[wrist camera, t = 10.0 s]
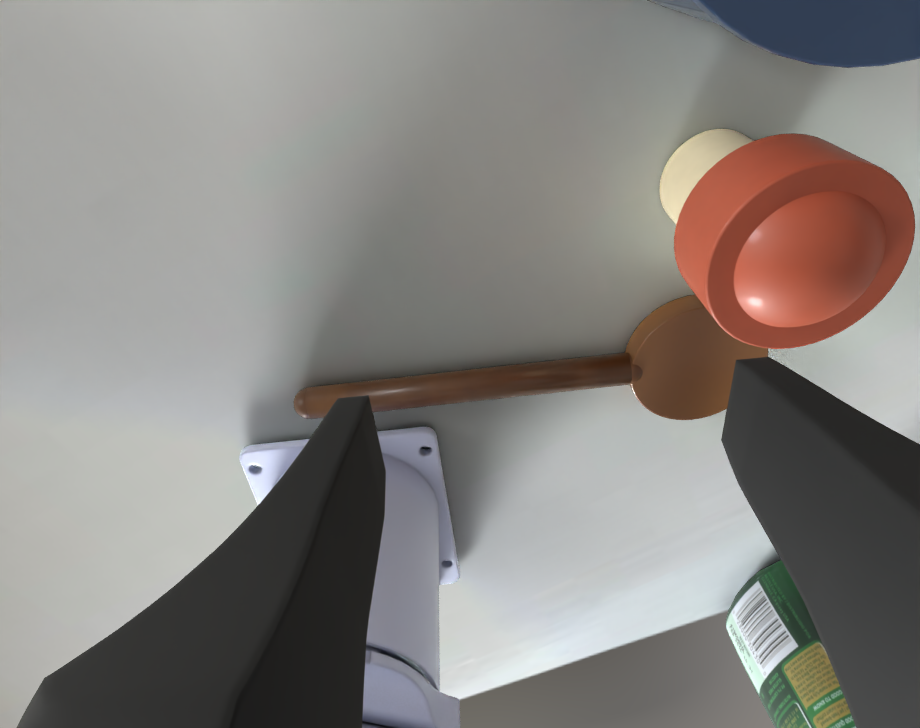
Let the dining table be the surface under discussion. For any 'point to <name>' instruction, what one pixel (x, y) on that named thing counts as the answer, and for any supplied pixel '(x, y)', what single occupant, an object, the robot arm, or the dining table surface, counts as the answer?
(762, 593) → the coffee jar
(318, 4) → the dining table surface
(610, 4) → the dining table surface
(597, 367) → the spoon
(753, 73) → the dining table surface
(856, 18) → the pot lid
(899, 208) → the toy mushroom
